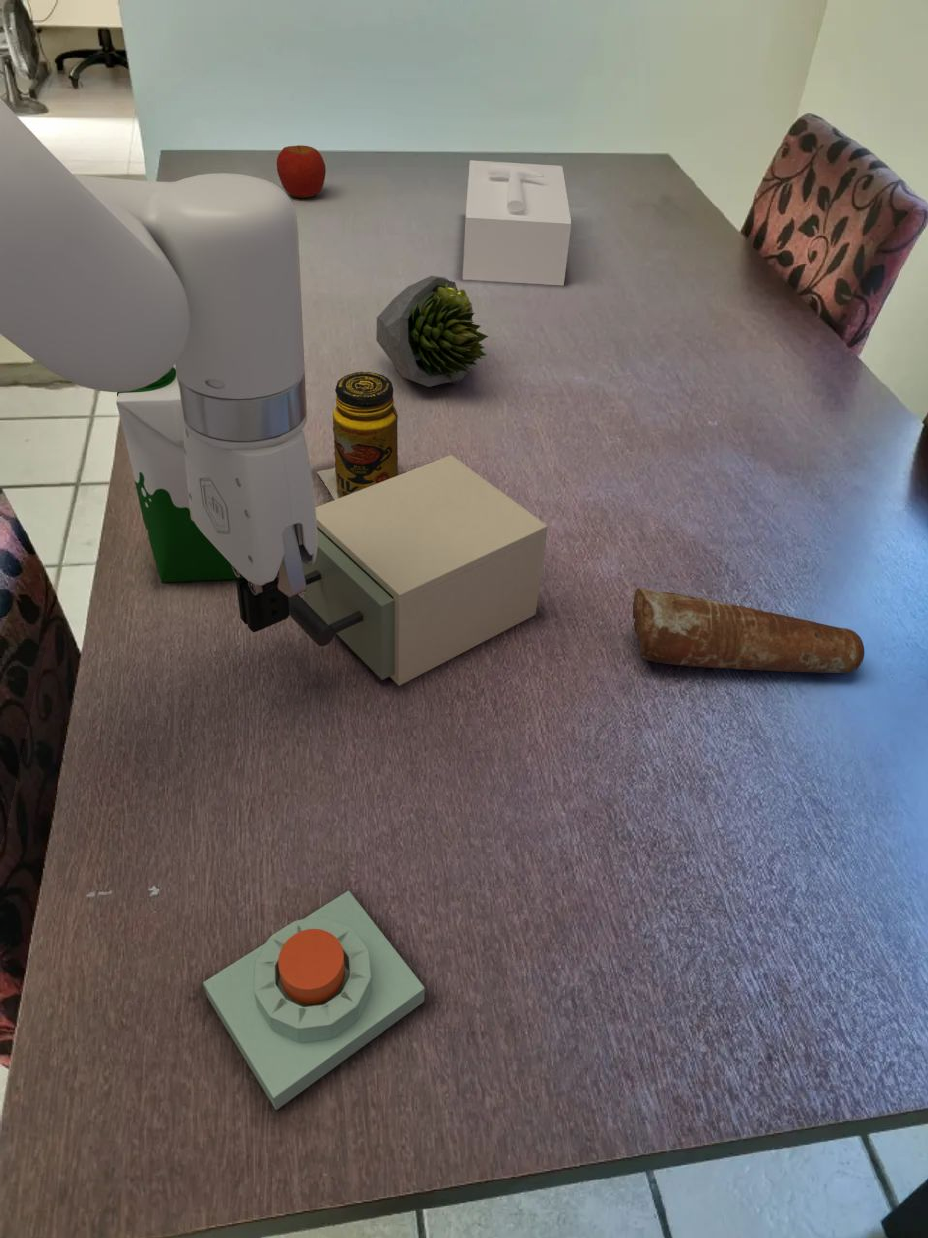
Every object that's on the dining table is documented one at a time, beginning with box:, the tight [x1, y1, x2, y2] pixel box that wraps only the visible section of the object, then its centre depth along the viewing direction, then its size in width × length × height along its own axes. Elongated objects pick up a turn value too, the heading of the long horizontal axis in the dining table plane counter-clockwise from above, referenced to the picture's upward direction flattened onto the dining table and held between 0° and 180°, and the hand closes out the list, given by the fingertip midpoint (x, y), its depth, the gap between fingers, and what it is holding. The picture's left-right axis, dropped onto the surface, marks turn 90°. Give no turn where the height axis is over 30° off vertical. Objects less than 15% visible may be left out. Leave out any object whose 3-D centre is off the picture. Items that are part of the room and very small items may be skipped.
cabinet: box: [315, 454, 548, 687], centre depth 78 cm, size 15×13×10 cm
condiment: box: [316, 371, 399, 501], centre depth 90 cm, size 7×8×12 cm
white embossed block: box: [462, 159, 572, 287], centre depth 139 cm, size 14×25×11 cm, turn 178°
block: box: [202, 890, 426, 1111], centre depth 54 cm, size 10×8×4 cm
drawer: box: [288, 529, 394, 681], centre depth 76 cm, size 18×11×8 cm, turn 129°
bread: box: [632, 587, 865, 674], centre depth 76 cm, size 6×19×6 cm, turn 84°
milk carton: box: [115, 365, 242, 583], centre depth 78 cm, size 9×9×20 cm
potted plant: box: [376, 275, 489, 388], centre depth 108 cm, size 12×13×15 cm
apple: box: [276, 144, 327, 199], centre depth 153 cm, size 8×8×8 cm
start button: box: [278, 929, 345, 1004], centre depth 53 cm, size 4×4×2 cm
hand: (265, 619), depth 70 cm, fingers closed
